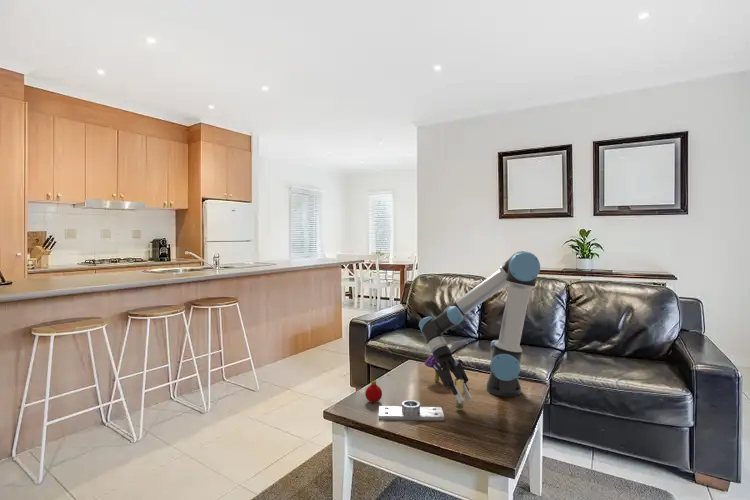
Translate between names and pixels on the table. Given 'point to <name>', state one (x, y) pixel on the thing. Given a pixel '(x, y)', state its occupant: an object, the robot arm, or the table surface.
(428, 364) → the decorative mushroom
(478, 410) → the table surface
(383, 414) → the hinge leaves
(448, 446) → the table surface
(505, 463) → the table surface
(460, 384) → the hinge pin
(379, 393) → the christmas ornament
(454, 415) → the table surface
